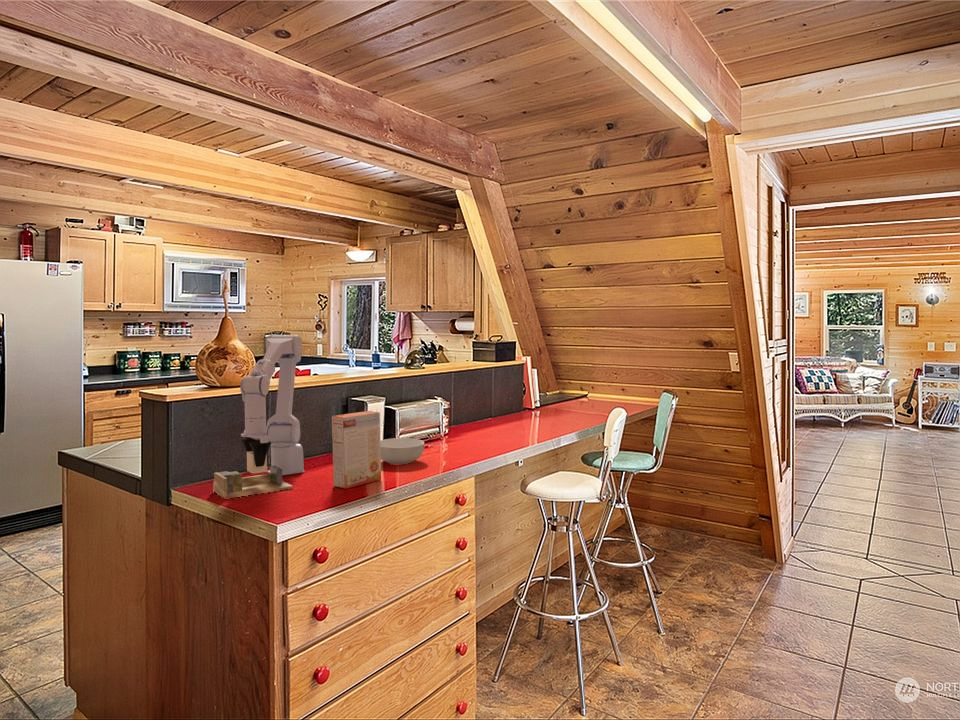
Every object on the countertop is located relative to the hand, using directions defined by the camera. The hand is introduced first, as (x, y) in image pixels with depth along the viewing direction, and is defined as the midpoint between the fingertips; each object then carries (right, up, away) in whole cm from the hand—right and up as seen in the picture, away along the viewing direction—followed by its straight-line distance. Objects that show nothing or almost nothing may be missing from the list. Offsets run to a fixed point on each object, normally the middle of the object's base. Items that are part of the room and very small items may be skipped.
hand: (256, 464), depth 183 cm
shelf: (0, -7, -1) cm, 7 cm away
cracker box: (+28, -7, +7) cm, 29 cm away
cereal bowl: (+37, -5, +36) cm, 51 cm away
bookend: (+4, -6, +4) cm, 8 cm away
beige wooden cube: (0, -2, 0) cm, 2 cm away
